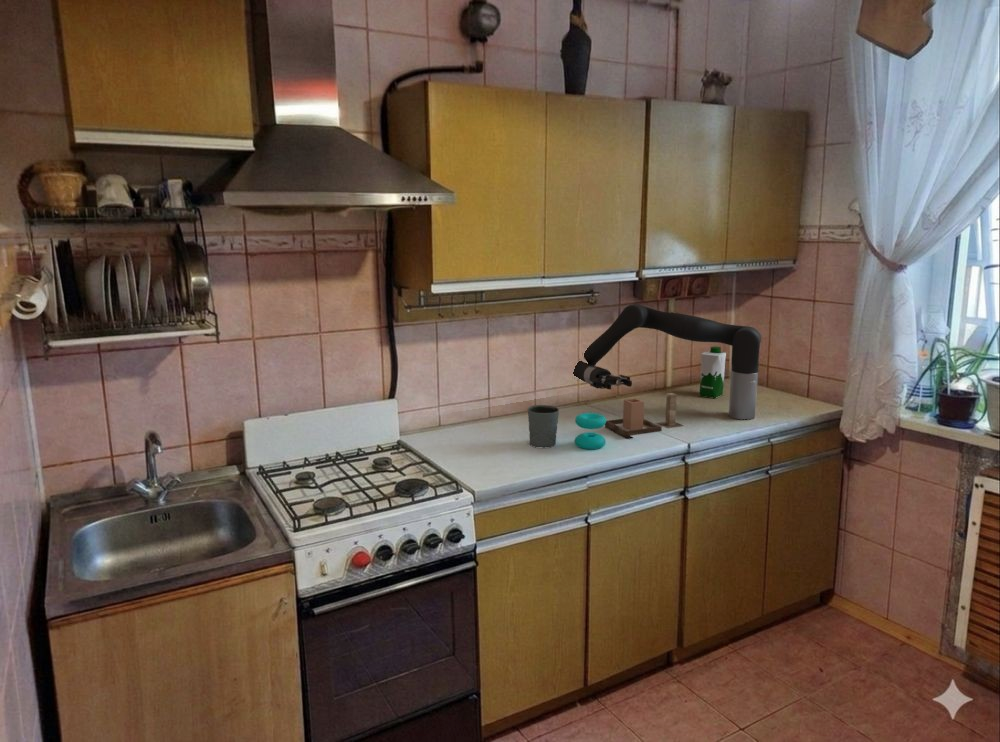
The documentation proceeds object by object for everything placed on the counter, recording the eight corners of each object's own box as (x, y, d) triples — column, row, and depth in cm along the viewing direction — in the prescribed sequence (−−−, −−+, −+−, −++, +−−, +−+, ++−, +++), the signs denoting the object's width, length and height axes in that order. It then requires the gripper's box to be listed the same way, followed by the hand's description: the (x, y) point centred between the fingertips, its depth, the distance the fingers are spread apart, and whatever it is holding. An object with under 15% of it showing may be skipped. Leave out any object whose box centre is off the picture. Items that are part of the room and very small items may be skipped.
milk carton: (725, 395, 288) (728, 347, 284) (716, 399, 281) (719, 351, 277) (705, 391, 294) (708, 345, 289) (696, 396, 287) (698, 348, 282)
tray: (604, 427, 246) (605, 420, 246) (638, 422, 251) (638, 416, 251) (626, 438, 233) (626, 432, 233) (661, 433, 239) (661, 427, 238)
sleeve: (622, 427, 244) (623, 399, 241) (634, 425, 245) (635, 398, 243) (630, 431, 239) (631, 403, 237) (642, 429, 241) (644, 401, 239)
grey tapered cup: (522, 442, 231) (521, 407, 228) (546, 437, 236) (546, 403, 233) (539, 450, 222) (539, 414, 220) (564, 445, 228) (565, 409, 225)
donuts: (611, 418, 222) (584, 421, 219) (611, 448, 225) (583, 452, 221) (597, 410, 231) (569, 413, 228) (596, 439, 234) (569, 442, 230)
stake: (655, 425, 248) (657, 392, 245) (672, 423, 250) (673, 390, 248) (667, 431, 242) (669, 397, 239) (684, 428, 244) (686, 395, 242)
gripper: (581, 369, 261) (603, 377, 246) (613, 365, 266) (637, 372, 251) (581, 388, 262) (603, 397, 248) (613, 384, 268) (637, 392, 253)
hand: (620, 385), depth 250 cm, fingers open, 8 cm apart
